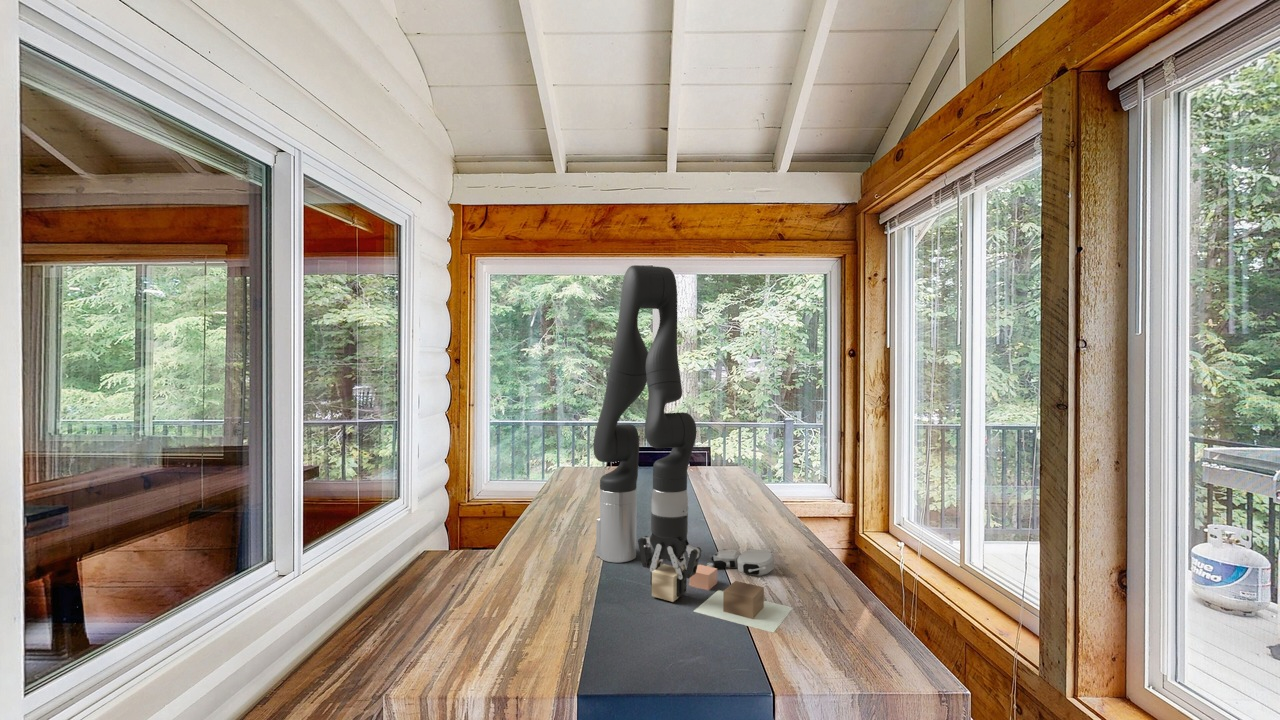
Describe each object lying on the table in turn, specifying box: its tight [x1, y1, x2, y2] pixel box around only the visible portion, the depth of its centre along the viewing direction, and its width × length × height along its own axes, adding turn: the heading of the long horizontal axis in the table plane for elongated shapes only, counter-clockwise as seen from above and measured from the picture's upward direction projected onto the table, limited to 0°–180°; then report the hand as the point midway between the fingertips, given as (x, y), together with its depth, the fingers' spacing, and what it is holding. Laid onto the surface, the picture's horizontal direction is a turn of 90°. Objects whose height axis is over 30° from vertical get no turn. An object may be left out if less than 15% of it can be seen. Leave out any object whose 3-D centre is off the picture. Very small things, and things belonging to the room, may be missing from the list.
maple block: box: [651, 563, 680, 603], centre depth 119 cm, size 5×5×5 cm
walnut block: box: [722, 580, 765, 619], centre depth 113 cm, size 6×6×4 cm
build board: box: [693, 589, 794, 634], centre depth 113 cm, size 16×12×1 cm
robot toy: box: [706, 548, 777, 577], centre depth 136 cm, size 12×4×15 cm
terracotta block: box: [688, 564, 718, 591], centre depth 125 cm, size 4×4×4 cm
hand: (668, 591), depth 119 cm, fingers closed on maple block, 5 cm apart
